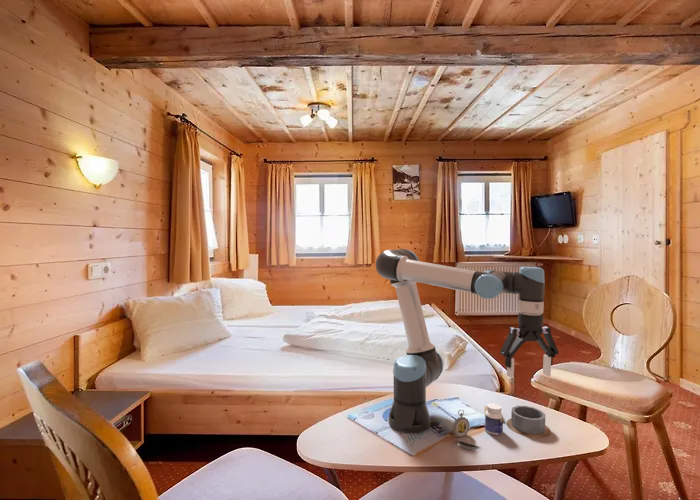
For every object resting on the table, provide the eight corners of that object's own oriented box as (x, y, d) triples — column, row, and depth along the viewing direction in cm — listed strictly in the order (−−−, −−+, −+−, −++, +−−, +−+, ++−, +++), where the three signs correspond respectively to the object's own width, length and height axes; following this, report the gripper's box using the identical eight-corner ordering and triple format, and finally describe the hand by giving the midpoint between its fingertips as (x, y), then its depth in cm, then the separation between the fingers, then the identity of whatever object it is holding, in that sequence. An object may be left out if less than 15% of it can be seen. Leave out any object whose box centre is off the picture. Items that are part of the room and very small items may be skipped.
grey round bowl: (510, 429, 126) (510, 415, 125) (513, 417, 135) (513, 403, 135) (544, 438, 120) (544, 422, 120) (545, 424, 129) (545, 409, 129)
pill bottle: (504, 440, 121) (504, 410, 121) (486, 438, 123) (486, 409, 122) (500, 431, 127) (501, 403, 127) (483, 429, 128) (483, 401, 128)
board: (503, 434, 125) (503, 430, 125) (508, 417, 137) (509, 414, 137) (550, 445, 118) (550, 442, 118) (551, 426, 130) (551, 423, 130)
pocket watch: (476, 453, 114) (476, 421, 114) (450, 445, 118) (450, 414, 118) (482, 440, 121) (482, 411, 121) (457, 433, 125) (457, 405, 125)
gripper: (503, 316, 115) (501, 382, 116) (572, 314, 120) (569, 378, 120) (490, 311, 123) (488, 373, 124) (555, 310, 127) (553, 369, 128)
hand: (528, 375), depth 122 cm, fingers open, 13 cm apart
